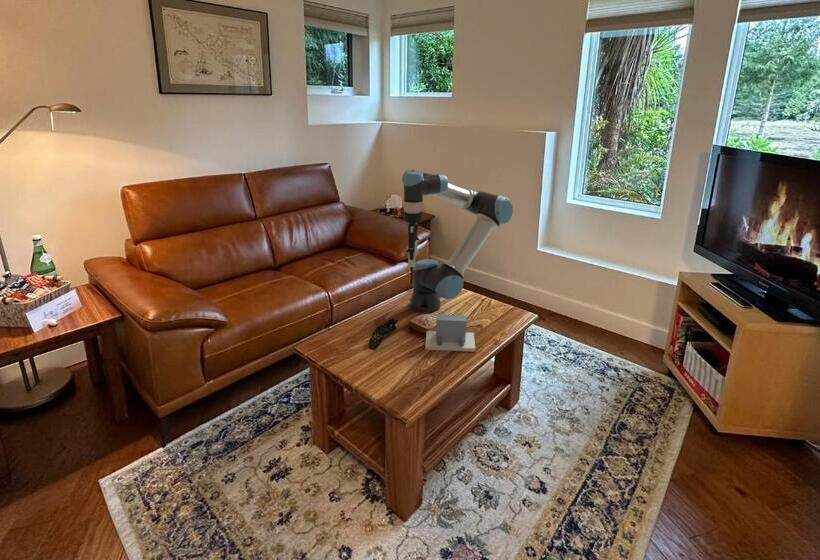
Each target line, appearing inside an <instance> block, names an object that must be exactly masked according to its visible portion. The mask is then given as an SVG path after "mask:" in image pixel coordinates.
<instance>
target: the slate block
mask: <svg viewBox="0 0 820 560" xmlns="http://www.w3.org/2000/svg"><path fill="white" fill-rule="evenodd" d="M435 321H436V322H435V323H436V324H435V325H436V326H435V331H436V342H437V337H442V342H455V343H459V338H464V343H465V337H466V332H467V315H462V314H461V315H460V314H436V320H435Z"/></svg>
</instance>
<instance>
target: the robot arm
mask: <svg viewBox="0 0 820 560" xmlns="http://www.w3.org/2000/svg"><path fill="white" fill-rule="evenodd" d="M401 182H402V184H403V211H404V212H403V221H404V222H406V223H408V225H407V236H408V242H407V243H408V244H407V248H408V249H407V250H406V253H407V254H408V255H407V256H408V257H407V265H408V266H407V267H408V268H412V273H413V274H412V276H413V277H412V281H413V282H412V285H413V286H412V287H413V288H412V289H413V290H412V294H411V297H410V299H409V308H410V309H411V310H412V311H414V312H418V313H426V314H428V313H434V312H437V311H439V310H440V308H441V303H442V302H441V299H440V298H443V299H445V300H452V299H455V298H457V297H458V296H459V295H460V294H461V292H462V290H463V289H464V278H465V273H464V272H465V271H466V269H467V268H468V266H469V265H470V263H471V262H472V260H473V259H474V258H475V256H476V255H477V253H478V252H479V250H480V249H481V248H482V246H483V245H484V243H485V242H486V240H487V239H488V238H489V235H490V234H491V233H492V231H494V230H497V229H499V228H500V226H501V224H502V225H503V224H507V223H508V222H510V221H511V218H512V217H513V213H514V209H513V208H514V206H513V205H514V204H513V203H512V200H511V199H509V198H508V197H505V196H503V195H498V194H494V193H490V192H488V191H487V192H486V191H479V190H473V189H471V188H462V187H460V186H457V185H454V184H451V183H450V182H449V180H448V177H447V176H446V175H445V174H441V173H440V174H439V173H437V174H432V173H427V172H422V171H417V170H415V169H407V170H406V171H404V172H403V174H402V176H401ZM428 195H430V196H432V197H436V198H439V199H442V200H444V201H447V202H450V203H452V204H455V205H457V206H458V207H459V208H461V209H463V210H465V211H467V212H469V213H471V214H473V215H475V217H476V220H475V222H474V223H473V224H472V226H471V228H470V229H469V230H468V232H467V233H466V234H465V236H464V237H463V238H462V241H460V243H459V245H458V247H456V249H455V250H454V252H453V253H452V254H451V256H450V258H449V260H447V261H444V262H443V263H442V264H441V265H440V266H439V261H438V260H436V259H430V258H429V259H420V260H417V261H416V257H417V256H418V241H420V238H419V235H418V230H419V224H418V223H421V222H423V206H425V204H424V202H423V200H424V196H428Z"/></svg>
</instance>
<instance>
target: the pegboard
mask: <svg viewBox="0 0 820 560" xmlns="http://www.w3.org/2000/svg"><path fill="white" fill-rule="evenodd" d="M424 349H425V350H430V351H432V350H433V351H448V352H449V351H452V352H455V351H456V352H472V353H475V352H476V343H475V333H474V332H469V331H468V332H467V331H466V337H465V343H464V338H459V343H455V342H442V337H437V342H436V330H426V337H425V346H424Z"/></svg>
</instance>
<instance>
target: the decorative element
mask: <svg viewBox="0 0 820 560" xmlns="http://www.w3.org/2000/svg"><path fill="white" fill-rule="evenodd" d="M396 324H398V319H396V318H389V320H387V322H384V323H383V324H380V325H378V326H376V328H375V329H374V330H373V332H372V334H371V337H370V338H369V342H368V348H369V349H370V350H373V351H375V350H377V348H378V347H379V346H380V345H381V344H382V342H383V340H384V337H385V335H388V334H390V333H392V332H393V331H396V330H397V326H396ZM378 338H379V339H378Z"/></svg>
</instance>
